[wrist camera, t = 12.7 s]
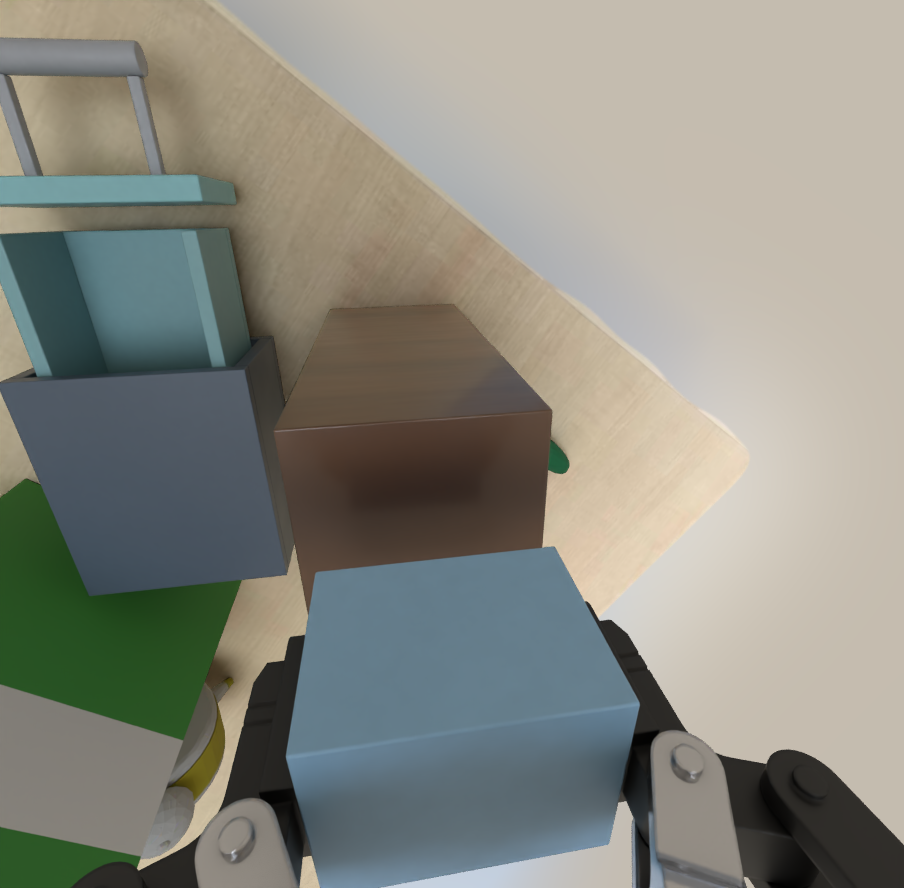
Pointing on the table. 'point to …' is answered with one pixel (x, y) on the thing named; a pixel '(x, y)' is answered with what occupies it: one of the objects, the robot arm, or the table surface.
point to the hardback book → (88, 700)
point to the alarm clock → (190, 772)
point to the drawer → (114, 245)
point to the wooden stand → (410, 444)
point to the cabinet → (161, 470)
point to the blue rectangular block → (455, 719)
